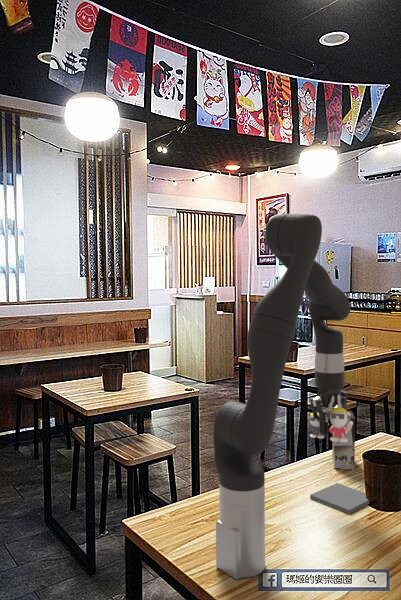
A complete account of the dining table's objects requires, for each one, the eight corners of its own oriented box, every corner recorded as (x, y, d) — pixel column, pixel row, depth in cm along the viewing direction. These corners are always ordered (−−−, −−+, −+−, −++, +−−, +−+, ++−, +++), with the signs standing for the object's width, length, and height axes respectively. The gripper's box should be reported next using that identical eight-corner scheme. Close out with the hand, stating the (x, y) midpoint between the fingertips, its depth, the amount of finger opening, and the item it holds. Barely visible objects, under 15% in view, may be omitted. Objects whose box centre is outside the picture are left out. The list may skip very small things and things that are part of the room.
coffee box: (355, 470, 155) (355, 418, 154) (333, 468, 156) (333, 417, 156) (352, 459, 164) (352, 410, 163) (332, 458, 165) (331, 409, 165)
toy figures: (305, 436, 136) (304, 406, 136) (311, 432, 140) (310, 402, 140) (349, 444, 130) (349, 411, 129) (354, 439, 133) (354, 407, 133)
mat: (349, 513, 126) (349, 510, 126) (310, 498, 135) (310, 494, 135) (375, 500, 134) (375, 496, 134) (337, 486, 143) (337, 482, 143)
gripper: (325, 374, 127) (325, 442, 127) (357, 367, 136) (357, 430, 137) (301, 371, 132) (301, 435, 133) (333, 364, 142) (333, 424, 142)
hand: (329, 432), depth 135 cm, fingers closed on toy figures, 4 cm apart
